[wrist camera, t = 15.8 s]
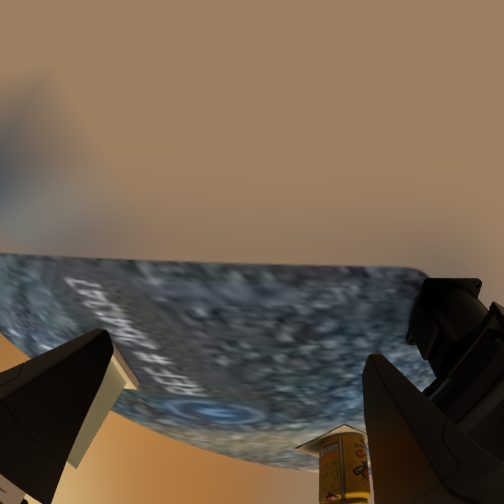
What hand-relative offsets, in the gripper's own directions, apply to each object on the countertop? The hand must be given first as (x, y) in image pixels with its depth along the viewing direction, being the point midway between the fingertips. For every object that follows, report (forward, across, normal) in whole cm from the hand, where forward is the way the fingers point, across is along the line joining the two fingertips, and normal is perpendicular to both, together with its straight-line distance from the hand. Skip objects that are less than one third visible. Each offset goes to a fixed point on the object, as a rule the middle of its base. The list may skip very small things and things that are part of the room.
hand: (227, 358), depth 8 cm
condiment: (+12, -10, +28) cm, 32 cm away
